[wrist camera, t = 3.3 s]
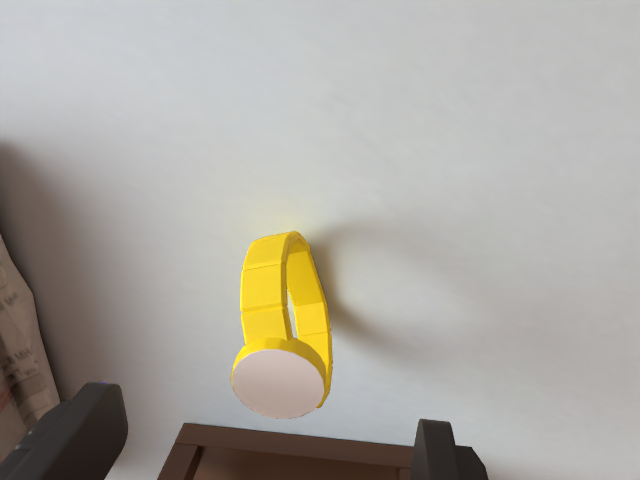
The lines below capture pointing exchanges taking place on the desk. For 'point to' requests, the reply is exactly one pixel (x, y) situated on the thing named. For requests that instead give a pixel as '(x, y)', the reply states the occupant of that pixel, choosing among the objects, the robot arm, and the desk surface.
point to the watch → (282, 330)
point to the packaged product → (20, 360)
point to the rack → (279, 457)
